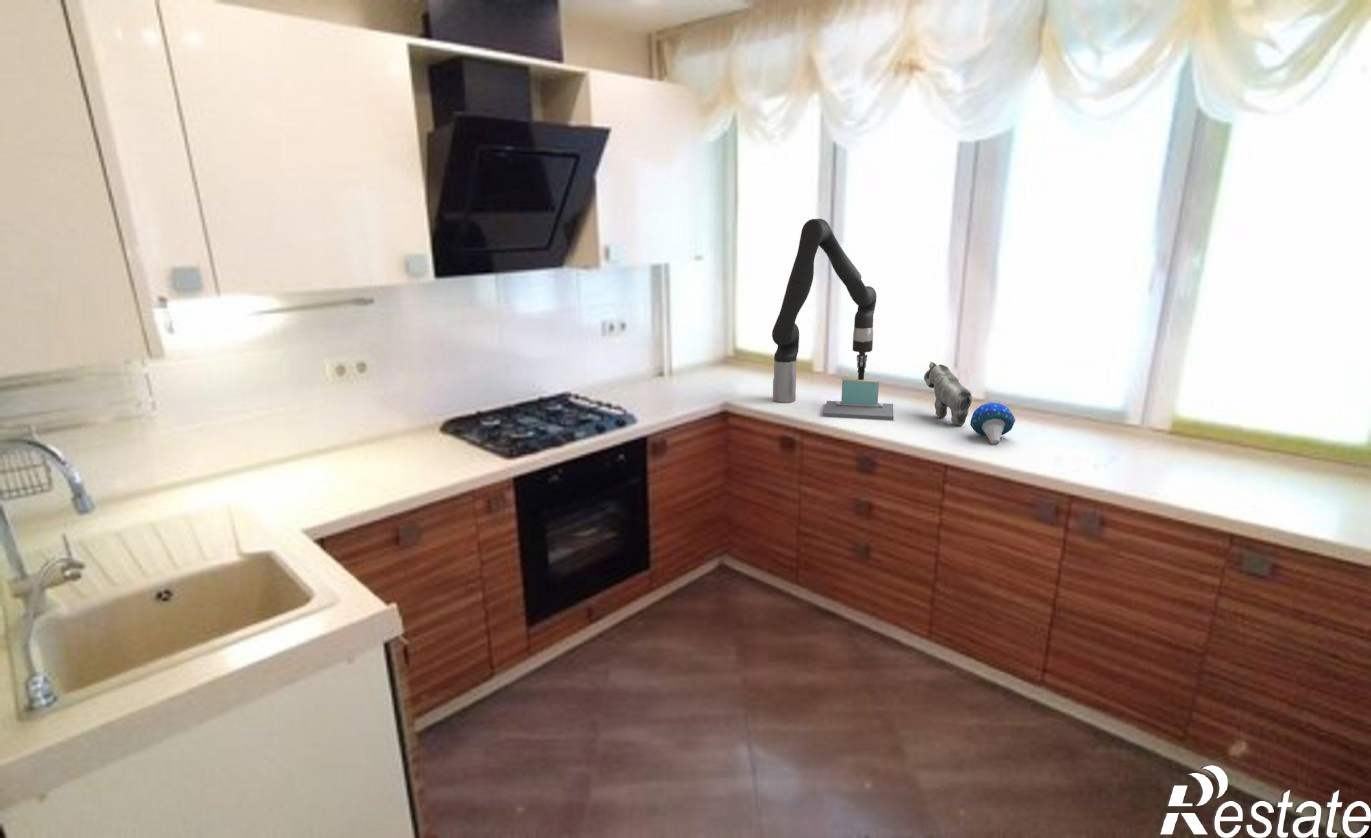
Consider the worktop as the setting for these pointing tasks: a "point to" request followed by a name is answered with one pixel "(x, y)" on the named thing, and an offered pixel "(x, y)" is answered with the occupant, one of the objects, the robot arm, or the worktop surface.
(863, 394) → the tile
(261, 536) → the worktop surface
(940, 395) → the grey animal figure
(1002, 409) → the mushroom
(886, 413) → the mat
